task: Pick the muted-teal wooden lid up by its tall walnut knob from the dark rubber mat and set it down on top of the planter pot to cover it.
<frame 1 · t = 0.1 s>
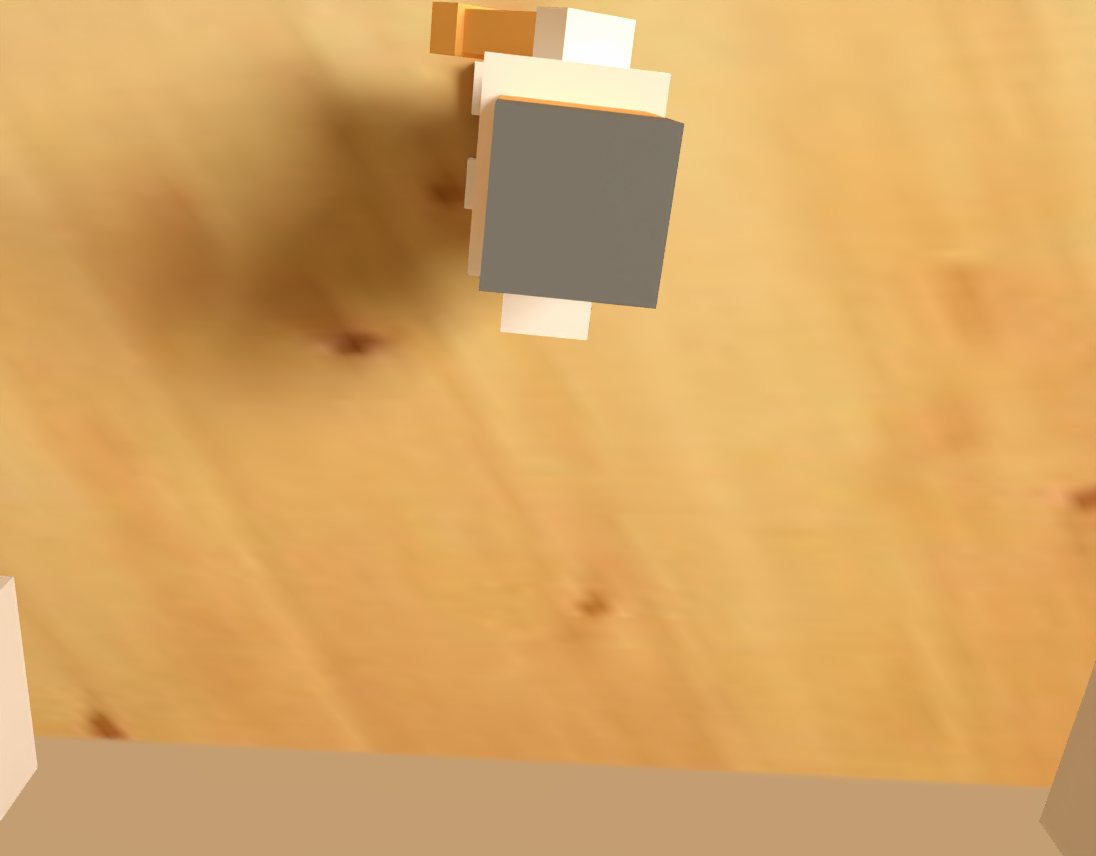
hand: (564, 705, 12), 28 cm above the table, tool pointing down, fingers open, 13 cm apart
character figure: (538, 130, 36), on the table
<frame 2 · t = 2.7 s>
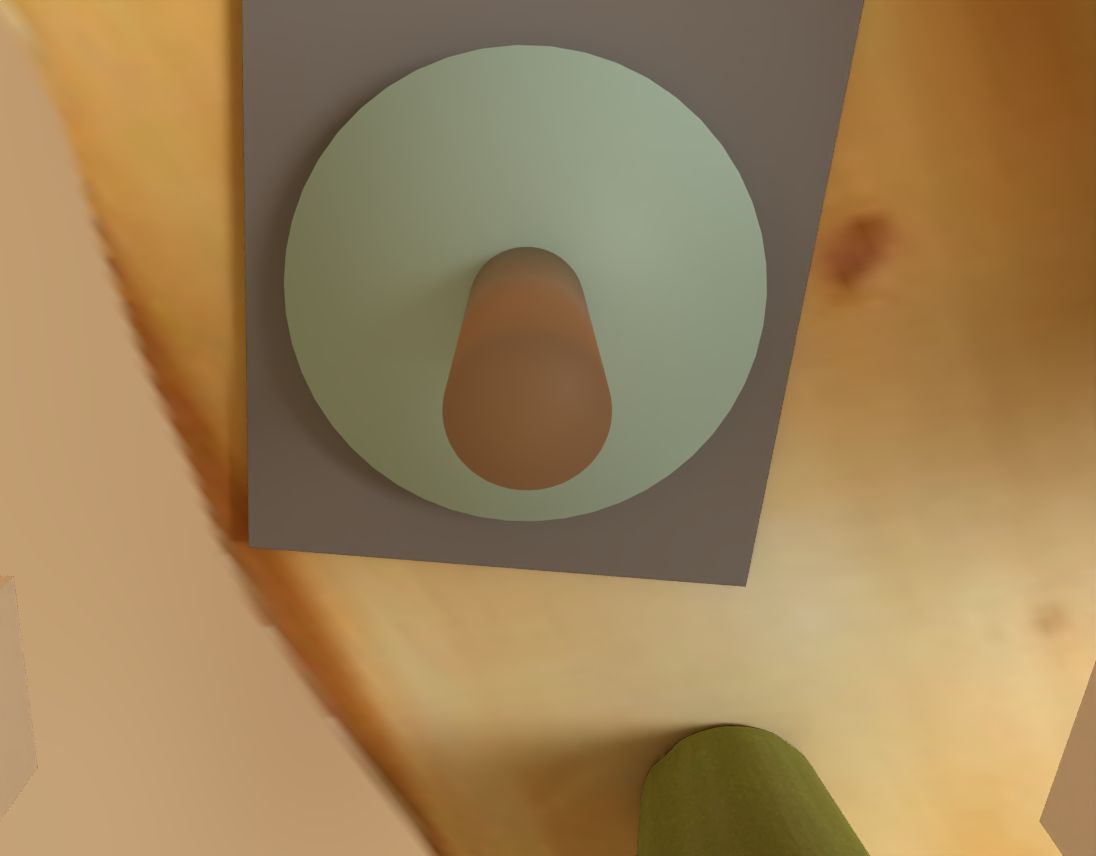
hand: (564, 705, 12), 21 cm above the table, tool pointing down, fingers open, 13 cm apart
mat: (526, 292, 31), on the table
lid: (526, 296, 30), point 1 cm above the table, touching mat
plant pot: (722, 788, 39), on the table
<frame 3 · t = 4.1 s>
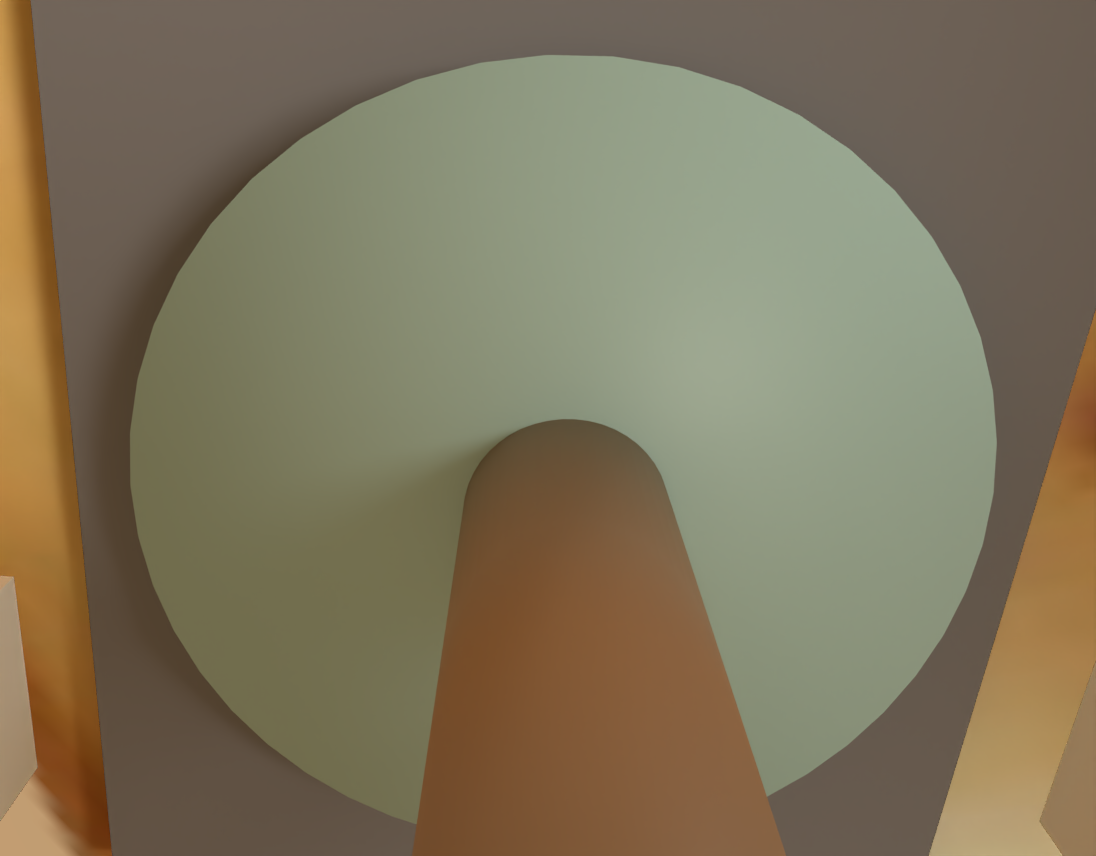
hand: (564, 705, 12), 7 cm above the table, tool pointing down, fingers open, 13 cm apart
mat: (562, 473, 18), on the table
lid: (563, 486, 18), point 1 cm above the table, touching mat
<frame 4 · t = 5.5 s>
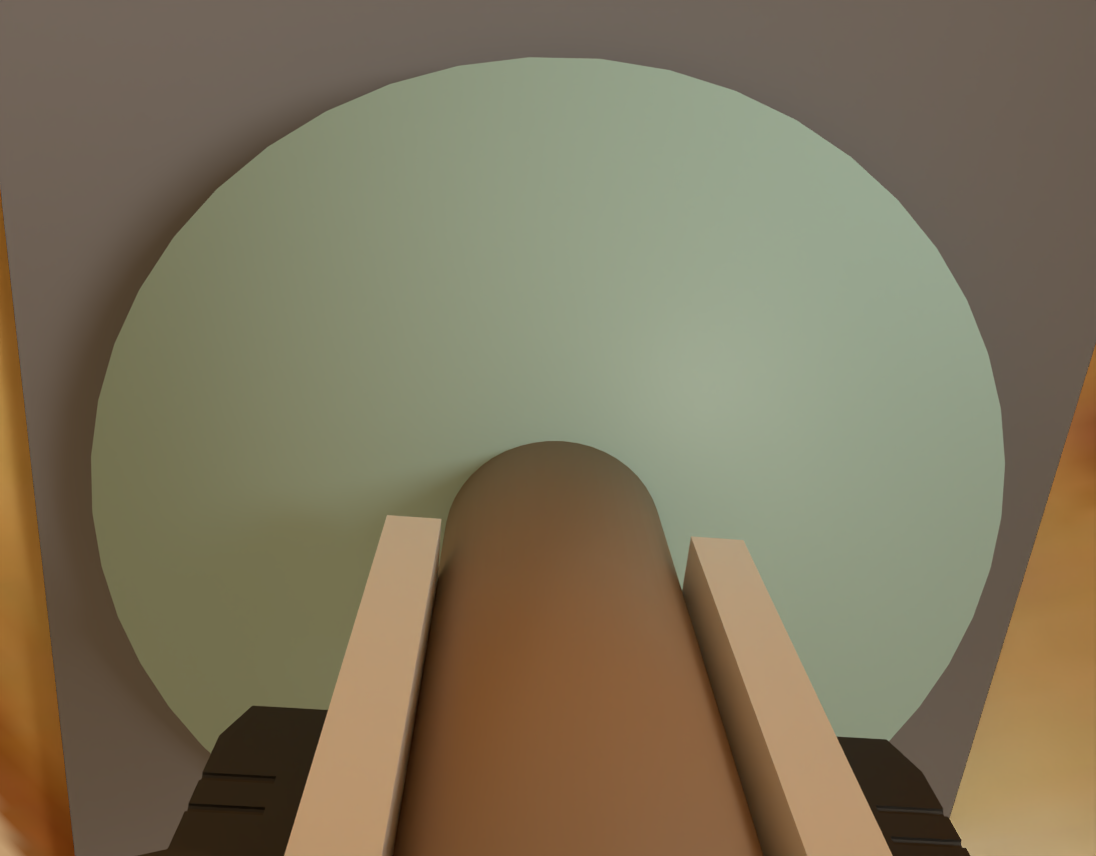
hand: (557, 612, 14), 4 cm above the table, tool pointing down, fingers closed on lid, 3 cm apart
mat: (547, 494, 17), on the table
lid: (551, 509, 17), point 1 cm above the table, touching gripper
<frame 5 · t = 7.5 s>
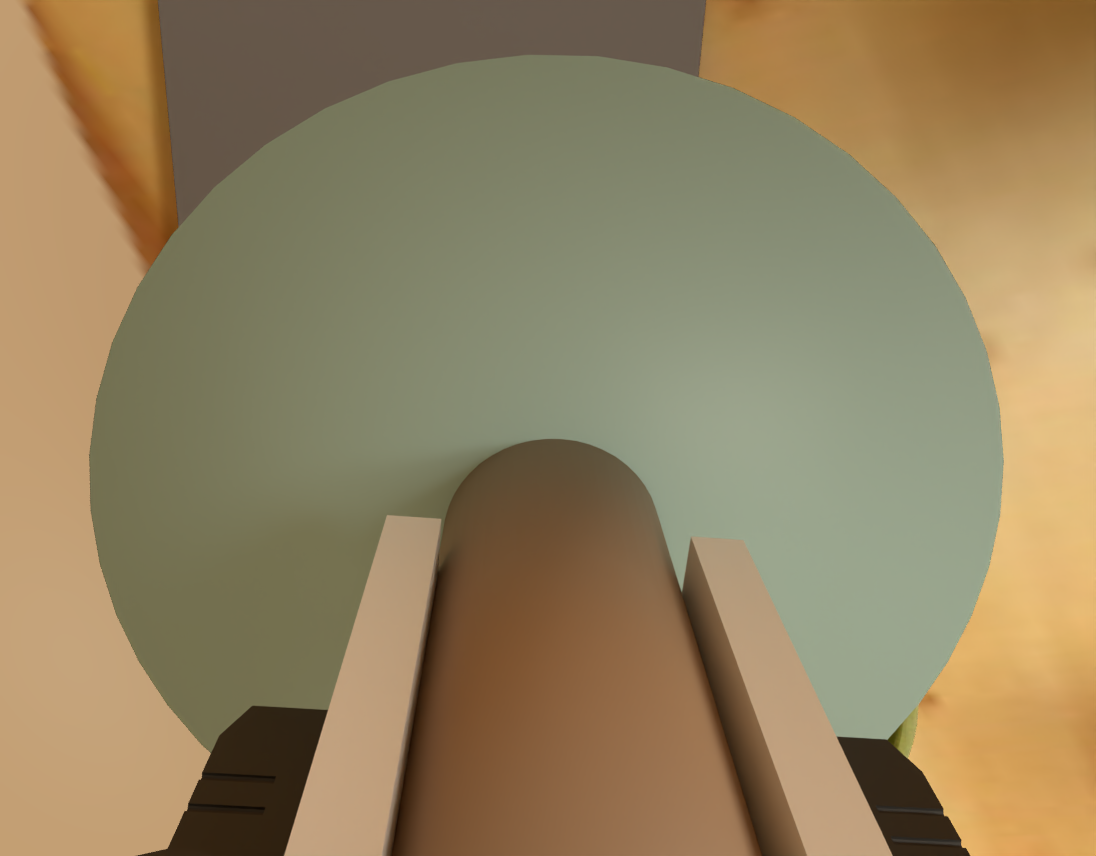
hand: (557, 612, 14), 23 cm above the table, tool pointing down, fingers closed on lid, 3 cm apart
mat: (434, 20, 32), on the table
lid: (549, 507, 17), point 19 cm above the table, touching gripper
plant pot: (671, 551, 39), on the table
when the fingers open (16 cm above the table, at t = 9.9 s): lid drops 1 cm, resting on plant pot.
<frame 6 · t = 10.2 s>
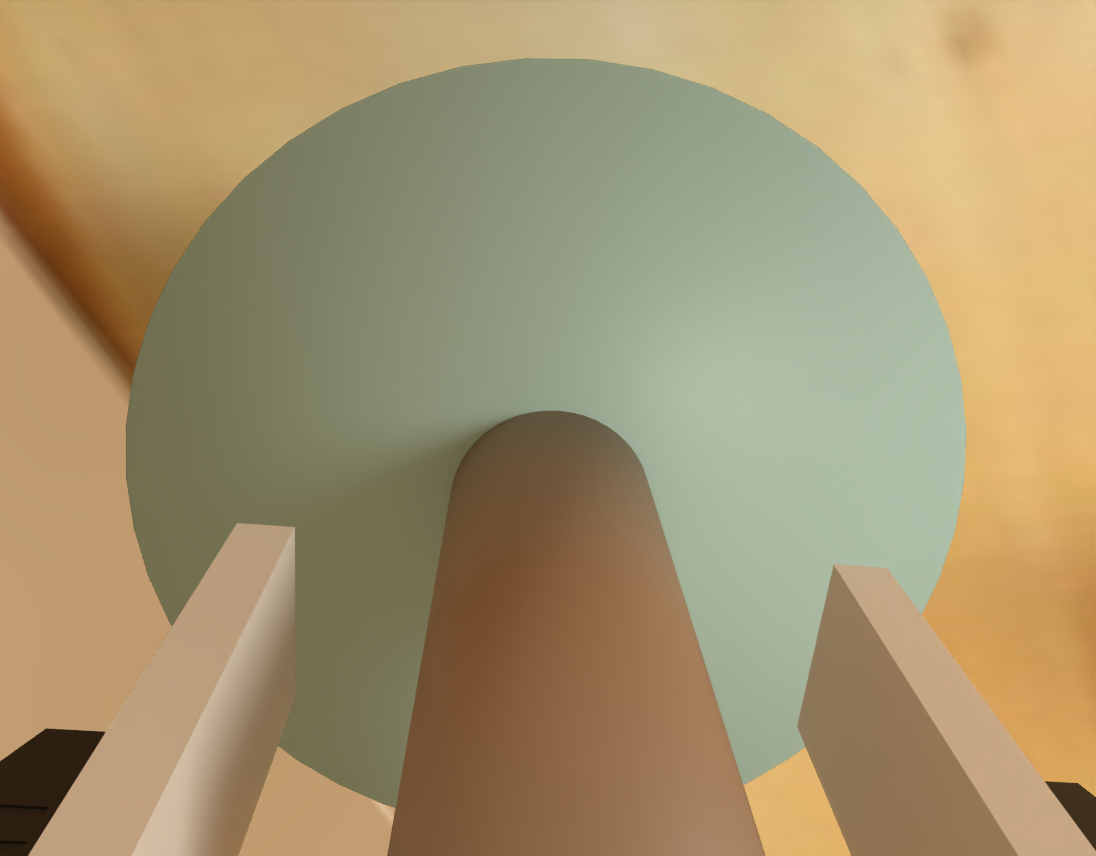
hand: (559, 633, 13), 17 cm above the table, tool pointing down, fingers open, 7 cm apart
lid: (548, 478, 18), point 11 cm above the table, touching plant pot
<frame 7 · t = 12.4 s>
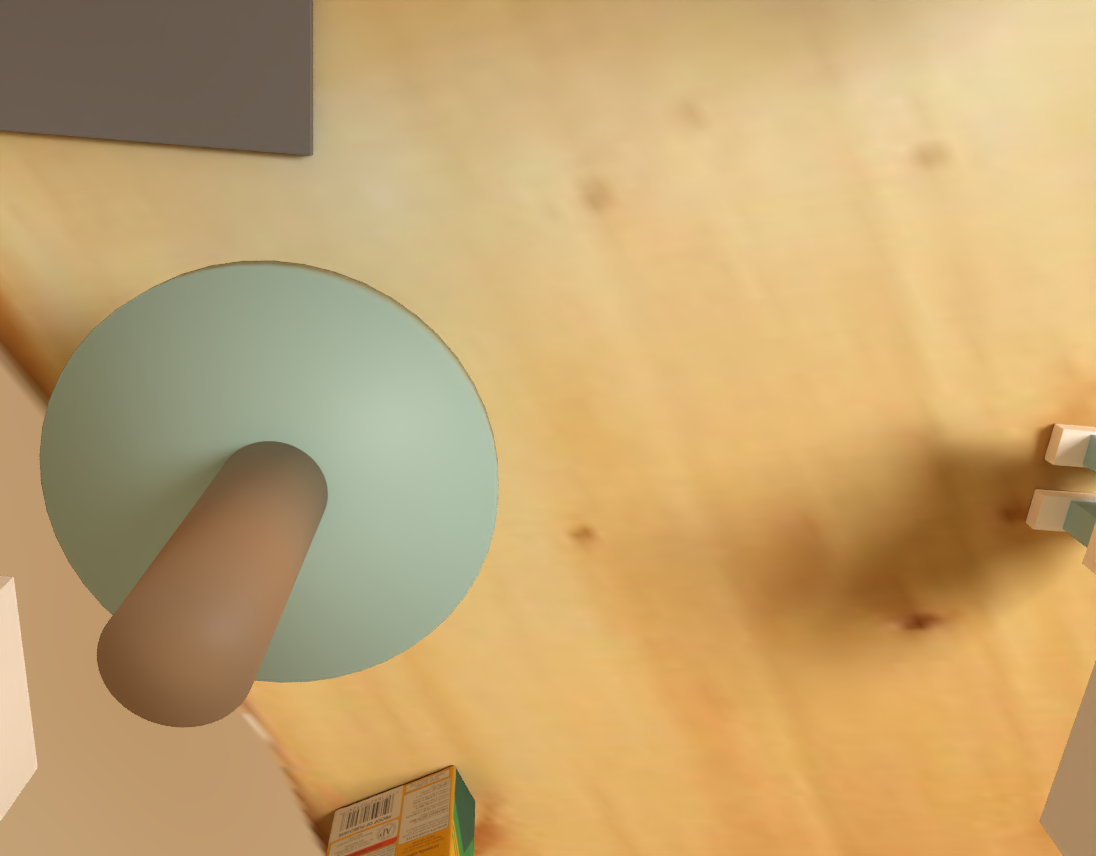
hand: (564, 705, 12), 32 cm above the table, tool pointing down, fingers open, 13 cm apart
lid: (281, 477, 32), point 11 cm above the table, touching plant pot
crayon box: (406, 804, 51), on the table
character figure: (1089, 468, 47), on the table
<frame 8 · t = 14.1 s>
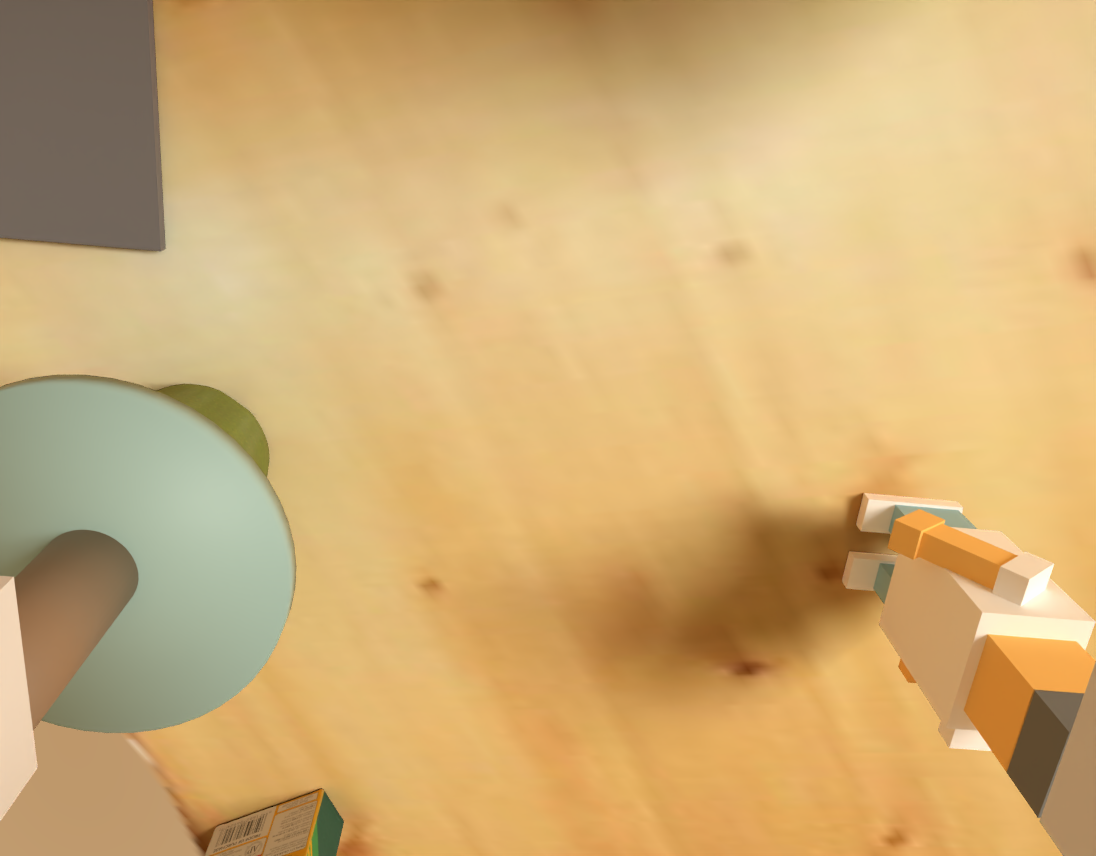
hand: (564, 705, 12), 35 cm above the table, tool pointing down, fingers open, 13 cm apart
lid: (103, 556, 37), point 11 cm above the table, touching plant pot
plant pot: (197, 447, 48), on the table, touching lid
crayon box: (281, 821, 56), on the table
character figure: (899, 532, 50), on the table
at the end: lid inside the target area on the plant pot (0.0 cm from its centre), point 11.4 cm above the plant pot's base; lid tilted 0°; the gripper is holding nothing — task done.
